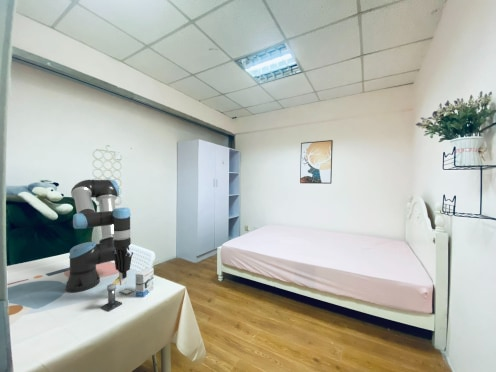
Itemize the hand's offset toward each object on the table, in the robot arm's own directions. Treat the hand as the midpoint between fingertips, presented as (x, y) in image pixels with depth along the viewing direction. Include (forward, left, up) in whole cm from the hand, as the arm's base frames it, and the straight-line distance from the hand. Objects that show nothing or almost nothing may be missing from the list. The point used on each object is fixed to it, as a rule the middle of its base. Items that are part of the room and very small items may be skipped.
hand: (123, 283), depth 105 cm
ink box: (+7, +7, -7) cm, 12 cm away
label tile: (-2, +3, -7) cm, 8 cm away
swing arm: (-1, -2, +1) cm, 3 cm away
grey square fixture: (+3, -8, -7) cm, 10 cm away
